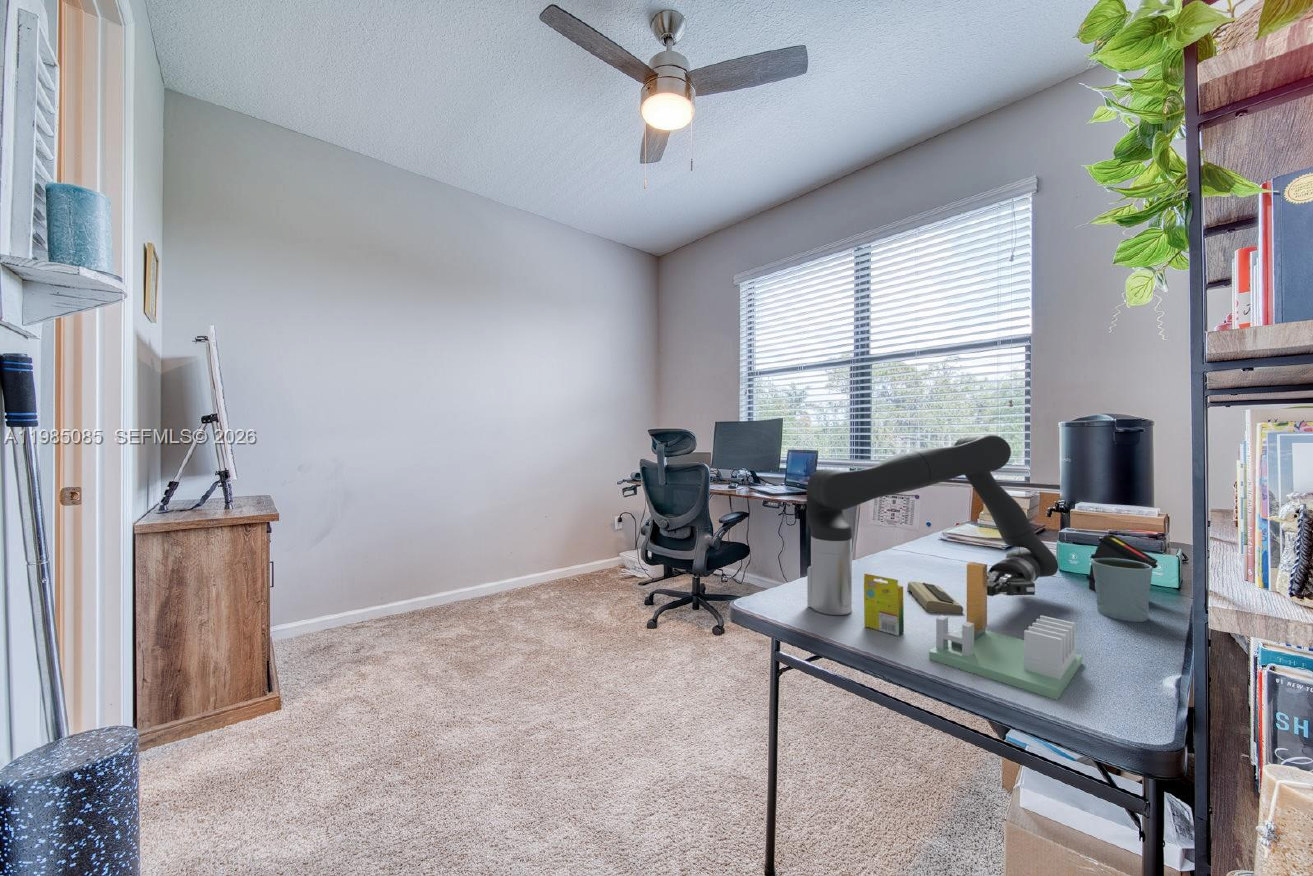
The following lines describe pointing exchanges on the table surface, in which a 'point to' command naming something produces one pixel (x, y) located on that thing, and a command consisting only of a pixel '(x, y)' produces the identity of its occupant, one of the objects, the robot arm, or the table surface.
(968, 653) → the heatsink board
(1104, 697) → the table surface
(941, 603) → the computer
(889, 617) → the crayon box
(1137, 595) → the grey green bin
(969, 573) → the wooden block
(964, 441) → the robot arm
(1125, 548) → the black striped box
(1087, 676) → the table surface
